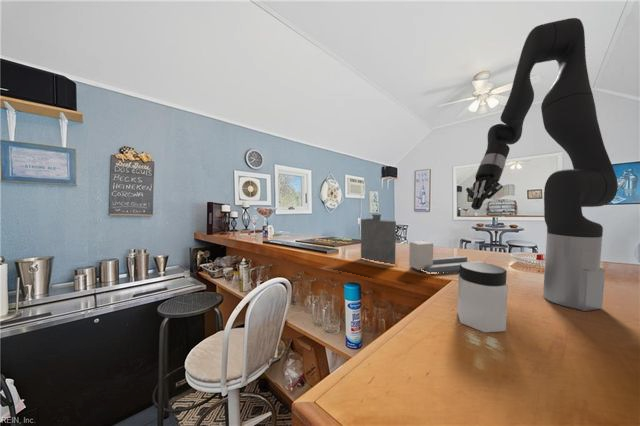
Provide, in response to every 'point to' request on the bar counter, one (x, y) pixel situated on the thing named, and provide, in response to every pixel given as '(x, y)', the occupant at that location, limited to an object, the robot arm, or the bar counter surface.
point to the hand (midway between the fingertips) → (475, 208)
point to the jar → (482, 296)
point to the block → (421, 254)
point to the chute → (447, 264)
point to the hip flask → (378, 239)
